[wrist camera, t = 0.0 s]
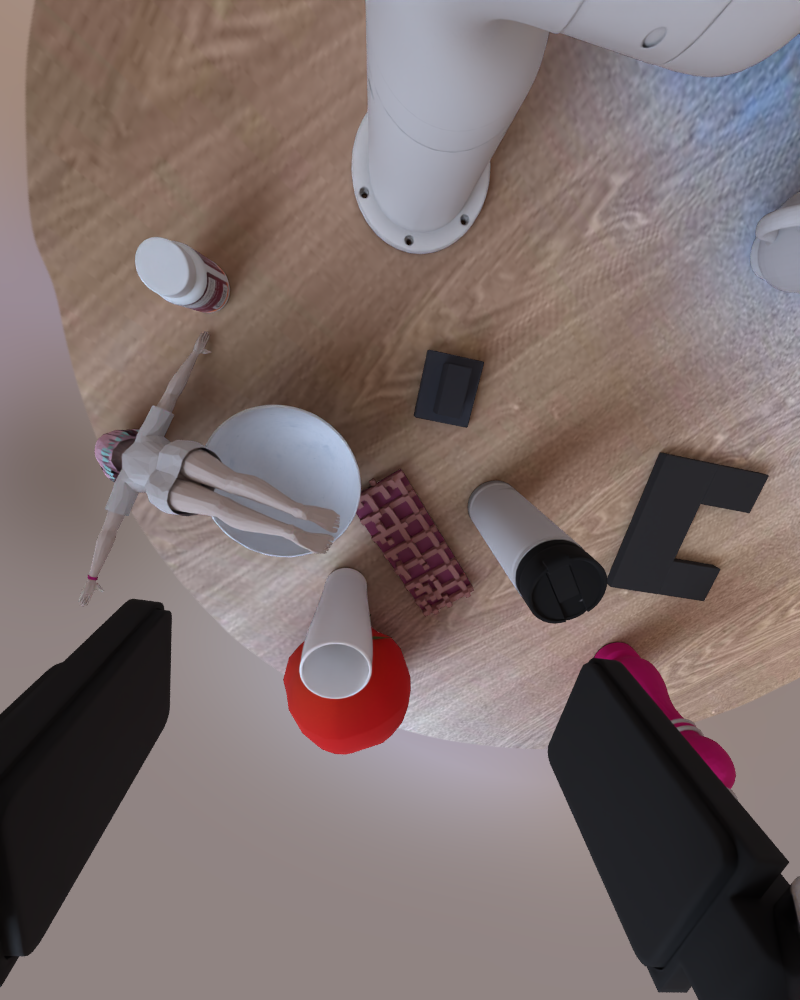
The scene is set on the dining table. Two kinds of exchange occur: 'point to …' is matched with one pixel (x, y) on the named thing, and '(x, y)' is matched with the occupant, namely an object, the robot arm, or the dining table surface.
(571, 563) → the travel mug
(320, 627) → the drinking glass
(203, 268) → the pill bottle
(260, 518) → the figurine
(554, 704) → the dining table surface
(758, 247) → the teacup
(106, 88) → the dining table surface
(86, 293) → the dining table surface
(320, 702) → the tomato
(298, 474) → the chinaware
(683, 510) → the black u-shaped block
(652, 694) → the pepper mill
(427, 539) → the chocolate bar
